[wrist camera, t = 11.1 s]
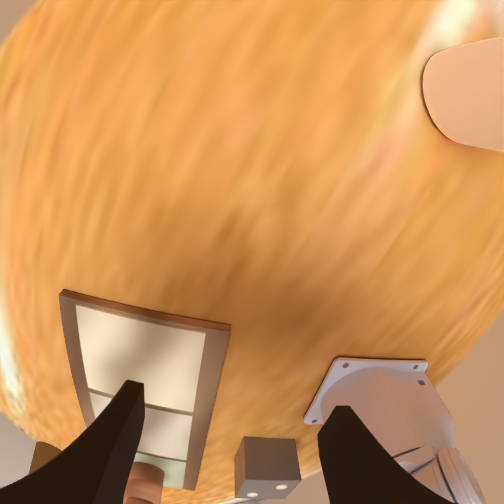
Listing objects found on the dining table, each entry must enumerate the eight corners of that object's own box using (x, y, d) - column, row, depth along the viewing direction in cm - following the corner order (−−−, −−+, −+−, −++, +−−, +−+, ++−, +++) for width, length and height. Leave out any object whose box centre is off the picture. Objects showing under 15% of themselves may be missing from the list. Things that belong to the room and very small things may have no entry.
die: (294, 438, 26) (301, 481, 21) (280, 461, 27) (284, 499, 23) (243, 435, 25) (245, 480, 20) (234, 458, 27) (235, 498, 22)
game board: (230, 325, 20) (230, 334, 19) (195, 485, 29) (194, 491, 28) (63, 289, 18) (57, 296, 17) (103, 465, 28) (101, 471, 27)
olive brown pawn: (75, 470, 29) (58, 527, 19) (39, 453, 28) (18, 508, 18) (72, 454, 27) (51, 519, 17) (33, 436, 26) (7, 496, 16)
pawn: (159, 464, 25) (151, 513, 19) (168, 479, 27) (162, 524, 21) (123, 459, 25) (112, 506, 19) (135, 475, 27) (126, 518, 21)
